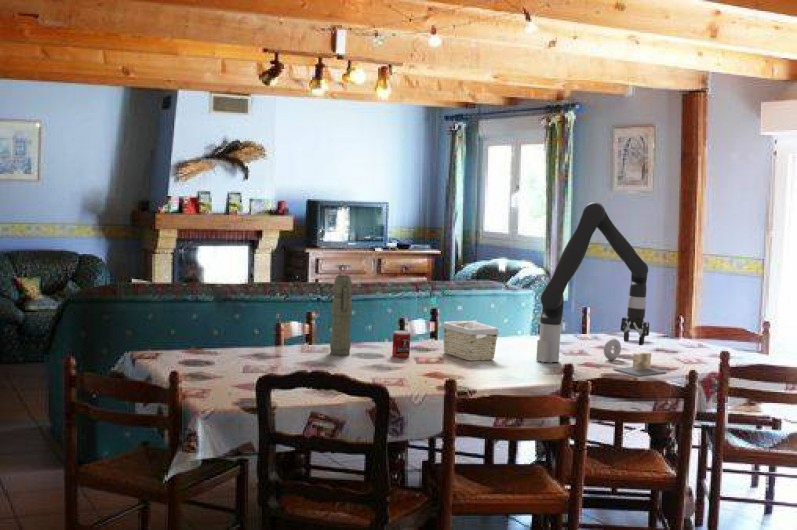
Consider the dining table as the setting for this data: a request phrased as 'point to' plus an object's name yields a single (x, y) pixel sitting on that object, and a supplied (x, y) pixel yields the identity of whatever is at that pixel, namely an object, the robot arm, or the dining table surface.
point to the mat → (639, 371)
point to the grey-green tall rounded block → (341, 316)
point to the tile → (641, 361)
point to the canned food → (401, 344)
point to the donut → (616, 350)
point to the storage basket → (470, 340)
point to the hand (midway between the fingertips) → (633, 343)
